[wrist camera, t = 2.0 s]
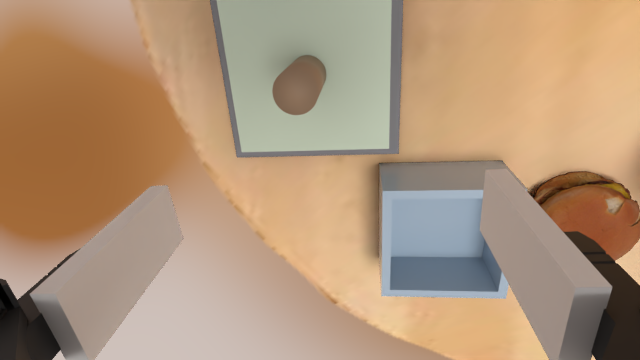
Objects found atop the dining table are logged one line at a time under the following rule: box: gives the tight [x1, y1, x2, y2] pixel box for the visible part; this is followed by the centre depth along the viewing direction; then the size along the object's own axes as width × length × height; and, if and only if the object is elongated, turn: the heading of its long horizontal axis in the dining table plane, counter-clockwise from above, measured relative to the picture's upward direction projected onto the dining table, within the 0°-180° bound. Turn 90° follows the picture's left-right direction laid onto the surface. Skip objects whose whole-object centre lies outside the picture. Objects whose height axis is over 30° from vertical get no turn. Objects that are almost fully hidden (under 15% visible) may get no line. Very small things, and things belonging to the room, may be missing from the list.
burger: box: [533, 172, 640, 260], centre depth 35 cm, size 10×9×5 cm
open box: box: [379, 161, 527, 299], centre depth 36 cm, size 12×12×6 cm
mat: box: [210, 0, 403, 157], centre depth 33 cm, size 16×16×1 cm
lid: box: [217, 0, 392, 152], centre depth 29 cm, size 14×14×8 cm
